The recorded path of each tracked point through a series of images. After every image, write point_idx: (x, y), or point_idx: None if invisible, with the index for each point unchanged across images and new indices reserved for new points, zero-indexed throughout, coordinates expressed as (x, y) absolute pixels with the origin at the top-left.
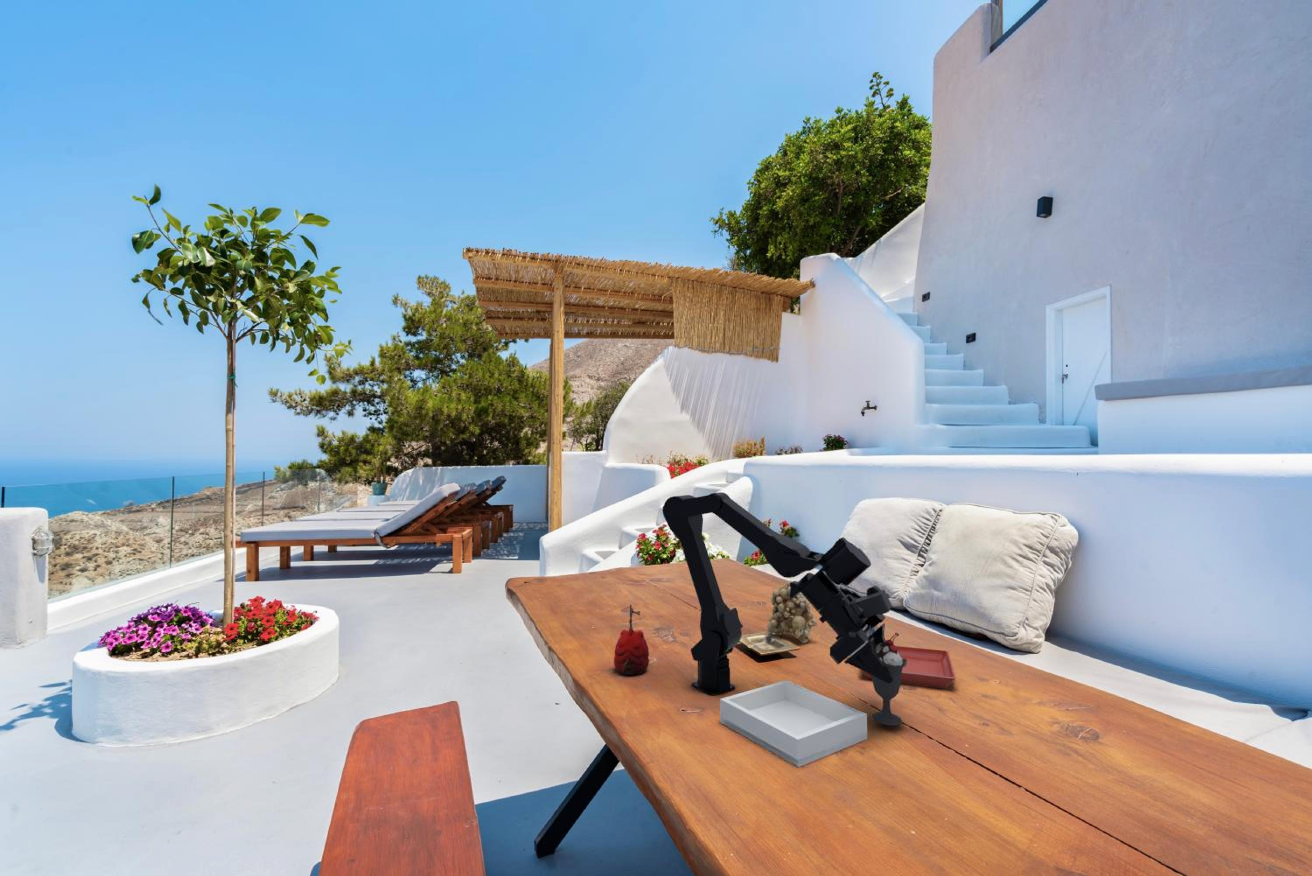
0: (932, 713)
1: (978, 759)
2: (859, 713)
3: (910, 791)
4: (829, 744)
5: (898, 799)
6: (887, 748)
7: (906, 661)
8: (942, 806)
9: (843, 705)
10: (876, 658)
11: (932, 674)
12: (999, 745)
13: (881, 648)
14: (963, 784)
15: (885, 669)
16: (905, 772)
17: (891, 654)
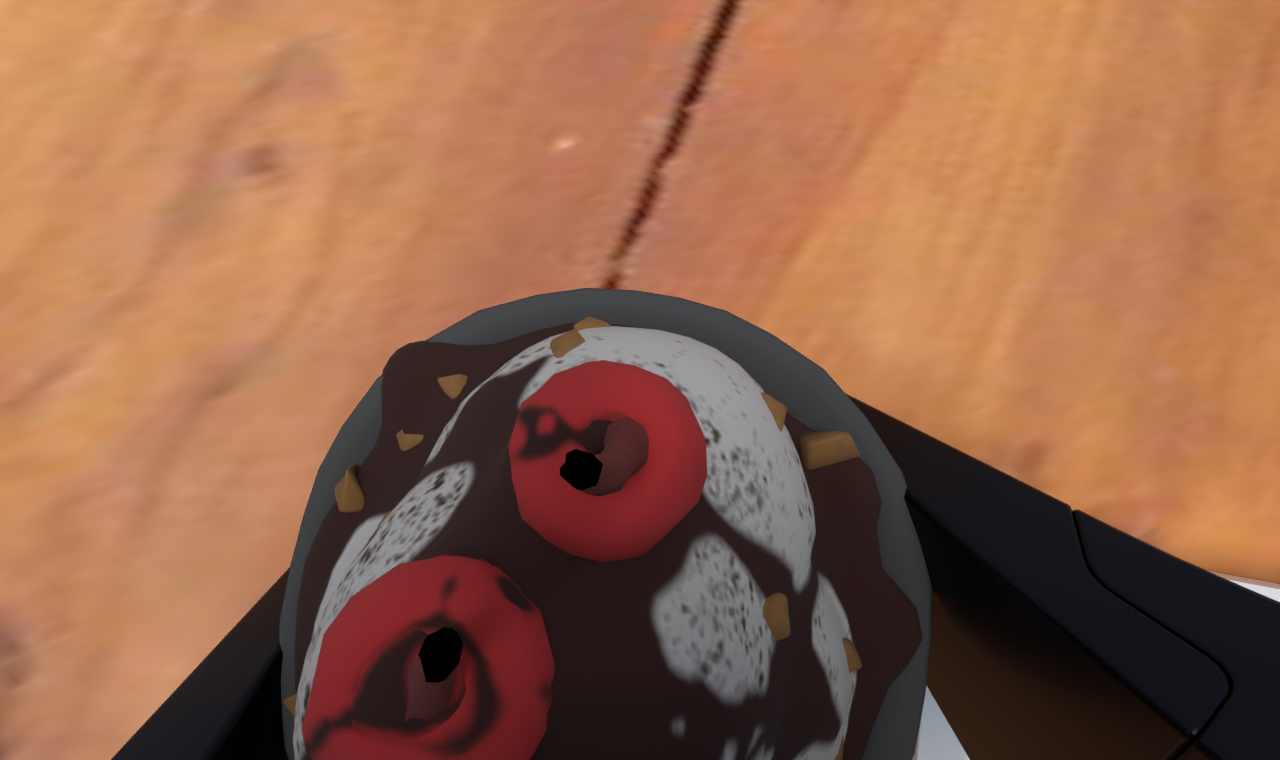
0: (301, 395)
1: (670, 63)
2: None
3: (1170, 151)
4: (1245, 579)
5: (1270, 159)
6: (884, 387)
7: (475, 317)
8: (1169, 28)
9: (940, 732)
10: (1222, 583)
11: None
12: (462, 46)
13: (744, 746)
14: (937, 33)
15: (940, 446)
16: (1038, 230)
17: (742, 449)
